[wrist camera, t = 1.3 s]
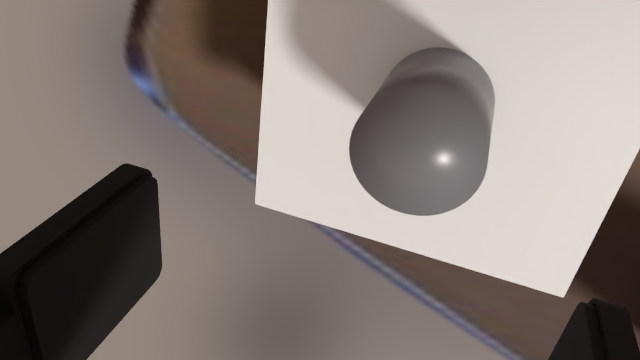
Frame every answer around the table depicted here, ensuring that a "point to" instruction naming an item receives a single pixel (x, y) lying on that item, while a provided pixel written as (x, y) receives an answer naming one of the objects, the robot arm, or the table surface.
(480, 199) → the lid
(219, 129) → the table surface
